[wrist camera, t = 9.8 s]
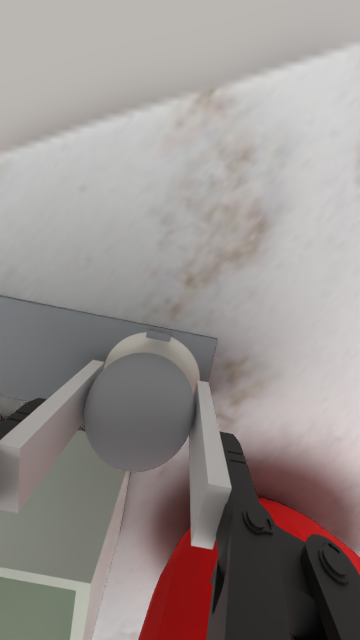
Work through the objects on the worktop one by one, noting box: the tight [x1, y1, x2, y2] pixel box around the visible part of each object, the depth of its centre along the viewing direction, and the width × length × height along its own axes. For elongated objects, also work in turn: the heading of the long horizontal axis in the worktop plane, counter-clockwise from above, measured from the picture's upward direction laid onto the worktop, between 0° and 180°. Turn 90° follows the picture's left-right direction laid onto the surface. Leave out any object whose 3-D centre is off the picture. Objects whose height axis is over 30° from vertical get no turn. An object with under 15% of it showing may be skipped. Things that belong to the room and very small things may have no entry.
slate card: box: [0, 296, 217, 401], centre depth 14 cm, size 24×8×1 cm, turn 79°
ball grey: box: [84, 353, 195, 472], centre depth 11 cm, size 6×6×6 cm
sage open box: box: [0, 430, 130, 640], centre depth 13 cm, size 10×10×8 cm
